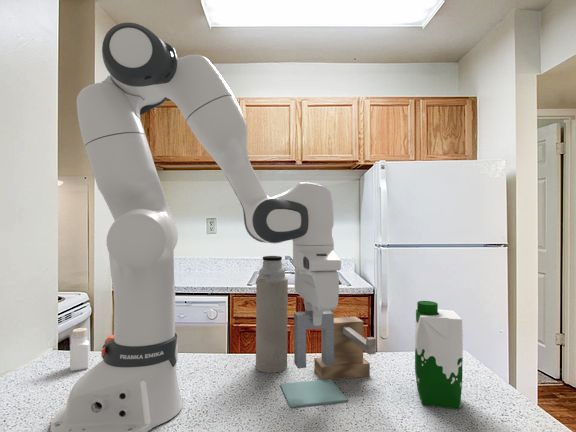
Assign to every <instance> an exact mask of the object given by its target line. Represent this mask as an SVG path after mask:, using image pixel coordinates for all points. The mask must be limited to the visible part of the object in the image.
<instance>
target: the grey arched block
mask: <svg viewBox="0 0 576 432" xmlns="http://www.w3.org/2000/svg"><path fill="white" fill-rule="evenodd" d="M312 316H313V311H307V312H306V311H296V312H295V311H294V312H293V336H294V337H293V338H294V340H293V343H294V345H293V347H294V349H293V350H294V351H293V354H294V355H293V358H294V360H293V362H294V365H295V367H296V368H297V369H306V368H307V330H318V329H321V331H320V332H321V334H320V335H321V339H320V340H321V343H320V345H321V357H322V362H323V363H324V364H325V365H326V366H328V365H334V318H335V314H334V312H332V310H330V311H324V312H323V315H322V324H321V325H319V326H315V325H313V324H312Z"/></svg>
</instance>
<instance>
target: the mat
mask: <svg viewBox="0 0 576 432" xmlns="http://www.w3.org/2000/svg"><path fill="white" fill-rule="evenodd" d="M279 386H280V389H281V390H282V392H283V394H284V397H285V399H286V401H287V404H288V406H289V408H292V409H293V408H302V407H311V406H319V405H320V406H321V405H327V404H336V403H346V402H348V399H347V397H346V396H345V394H343V392H342V391H341V390H340V389H339V387H338V386H337V384H336V383H335V382H334V381H333V380H331V379H325V380H321V379H317V380H314V379H313V380H306V381H297V382H296V381H295V382H288V383H287V382H286V383H285V382H284V383H280V384H279Z"/></svg>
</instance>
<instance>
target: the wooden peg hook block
mask: <svg viewBox="0 0 576 432" xmlns="http://www.w3.org/2000/svg"><path fill="white" fill-rule="evenodd" d="M376 343H377V339H376V338H375V337H373V336H370V337H365V336H364V321H363V320H362V319H360V318H359V317H357V316H343V317H341V316H339V317H334V365H328V366H326V365H325V364H324V363H323V362H322V356H321V357H314V358H313V359H314V361H313V362H314V365H313V366H314V368H313V370H314V372H315V373H316V374H317V376H318V377H319V380H325V379H331V380H332V379H333V380H341V379H342V380H343V379H353V377H354V378H363V377H370V376H371V375H370V374H371V369H370V368H371V367H370V366H371V364H370V362H369V361H367V359H365V358H364V352H365V353H366V354H367V355H376V352H377V350H376V348H377V346H376V345H377V344H376ZM333 380H332V381H333Z"/></svg>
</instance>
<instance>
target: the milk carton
mask: <svg viewBox="0 0 576 432" xmlns="http://www.w3.org/2000/svg"><path fill="white" fill-rule="evenodd" d="M416 306H417V307H416V308H415V321H414V323H415V324H414V325H415V326H414V327H415V329H414V373H415V381H416V387H417V392H418V395H419V398H420V402H421V405H422V406H427V407H438V408H445V409H455V410H461V402H462V390H463V389H462V388H463V351H464V350H463V345H464V344H463V343H464V342H463V336H464V335H463V318H462V317H461V316H459V315H458V314H457V313H456V311H454V310H453V309H452V310H451V309H450V310H449V309H441V308H438V307H439V305H438V302H436V301H430V300H420V301H417V303H416Z"/></svg>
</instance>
